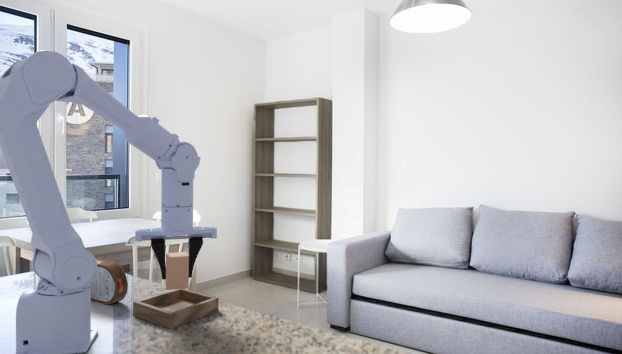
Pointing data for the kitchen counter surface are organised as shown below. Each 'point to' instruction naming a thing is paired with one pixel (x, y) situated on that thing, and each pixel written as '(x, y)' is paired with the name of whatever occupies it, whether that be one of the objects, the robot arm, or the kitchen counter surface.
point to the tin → (108, 282)
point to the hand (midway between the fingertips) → (176, 277)
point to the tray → (175, 307)
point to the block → (177, 270)
